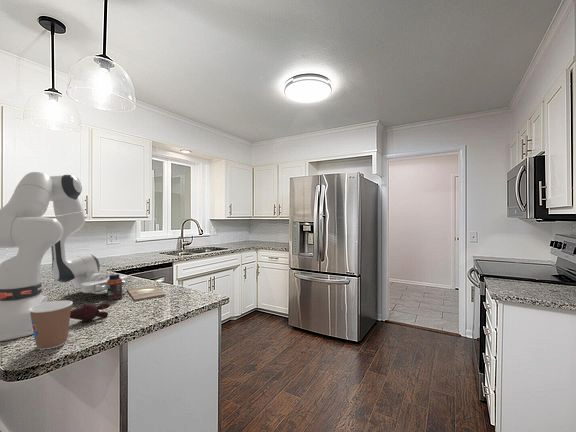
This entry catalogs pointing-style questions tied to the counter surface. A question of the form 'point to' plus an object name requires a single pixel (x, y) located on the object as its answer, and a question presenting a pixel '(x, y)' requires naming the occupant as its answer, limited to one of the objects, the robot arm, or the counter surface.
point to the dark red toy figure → (89, 312)
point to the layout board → (145, 292)
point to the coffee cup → (50, 323)
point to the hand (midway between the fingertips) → (115, 285)
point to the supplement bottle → (114, 287)
